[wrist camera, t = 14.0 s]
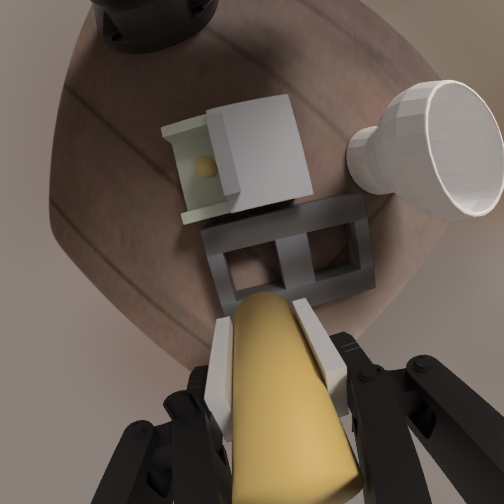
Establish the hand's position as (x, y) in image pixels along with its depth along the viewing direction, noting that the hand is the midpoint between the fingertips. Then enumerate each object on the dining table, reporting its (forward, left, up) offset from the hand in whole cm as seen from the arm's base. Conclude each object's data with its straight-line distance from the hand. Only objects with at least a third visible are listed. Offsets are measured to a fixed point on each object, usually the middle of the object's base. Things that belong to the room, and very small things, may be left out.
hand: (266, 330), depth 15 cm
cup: (-8, +16, -14) cm, 23 cm away
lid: (-11, +3, -9) cm, 14 cm away
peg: (0, 0, -2) cm, 2 cm away
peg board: (0, +4, -14) cm, 15 cm away
